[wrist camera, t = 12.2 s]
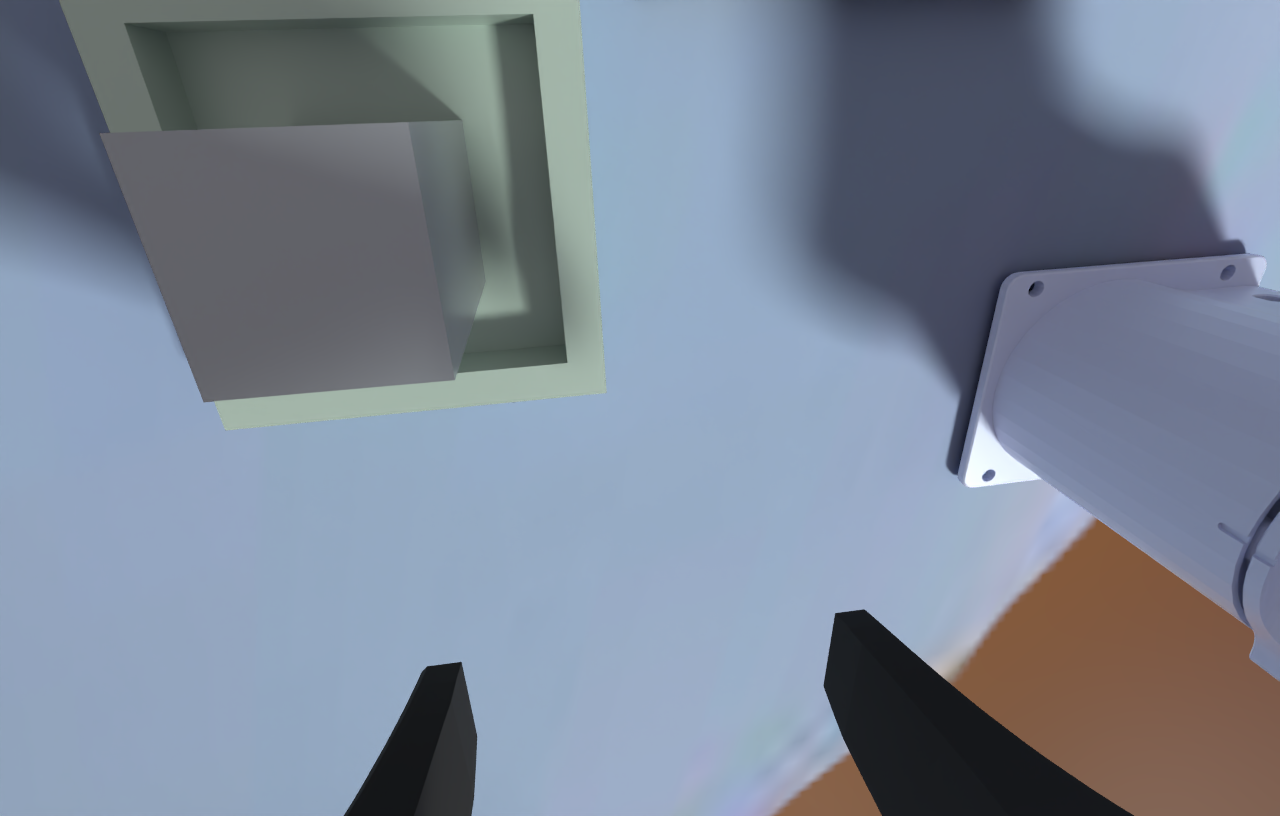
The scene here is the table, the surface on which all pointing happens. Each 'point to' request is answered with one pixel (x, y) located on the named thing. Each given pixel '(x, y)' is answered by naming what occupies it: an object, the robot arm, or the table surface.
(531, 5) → the sage tray
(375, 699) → the table surface
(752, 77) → the table surface
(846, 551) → the table surface
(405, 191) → the stone block
